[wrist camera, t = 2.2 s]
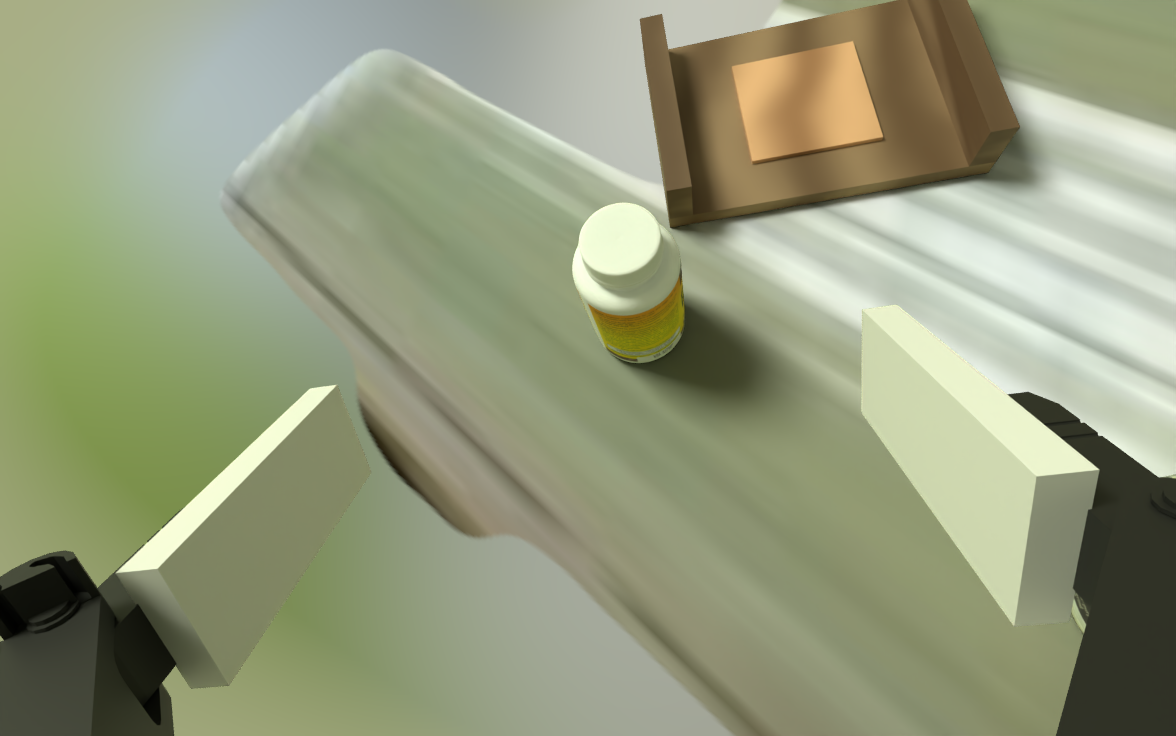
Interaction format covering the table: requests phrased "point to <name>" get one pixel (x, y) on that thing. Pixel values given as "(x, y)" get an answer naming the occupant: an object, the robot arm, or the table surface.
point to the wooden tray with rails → (824, 108)
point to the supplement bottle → (630, 282)
